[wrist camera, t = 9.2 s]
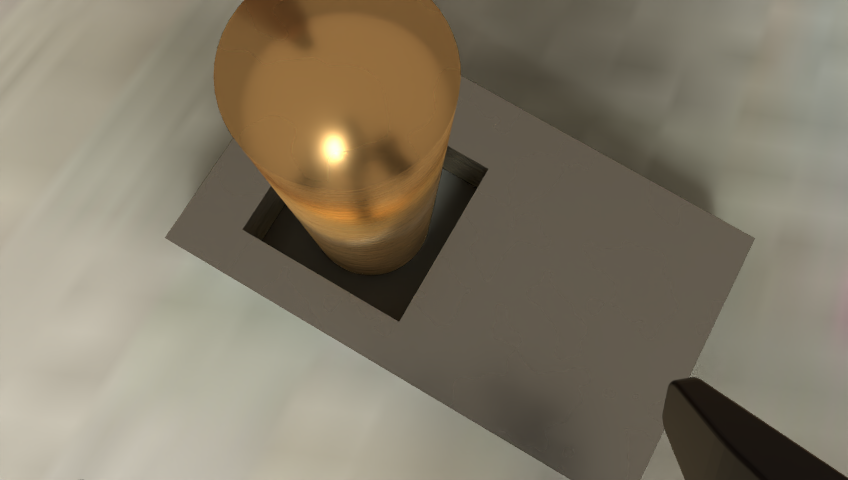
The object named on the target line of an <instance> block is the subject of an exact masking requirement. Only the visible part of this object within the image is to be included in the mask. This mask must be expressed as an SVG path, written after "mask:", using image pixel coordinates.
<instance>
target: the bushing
mask: <svg viewBox="0 0 848 480" xmlns="http://www.w3.org/2000/svg"><path fill="white" fill-rule="evenodd" d="M460 82H461V65H460V58H459V52H458V48H457V45H456V41H455V38H454V35H453V33H452V31H451V29H450V27H449V24H448V22H447V21H446V19H445V18H444V16H443V14H442V13H441V11H440V10H439V9H438V7H437V6H436V5H435V4H434V3H433V1H432V0H244V1H243V2H242V4H241V5H240V6H239V7H238V8H237V10H236V11H235V12H234V14H233V15H232V17H231V18H230V20H229V22H228V24H227V25H226V27H225V29H224V31H223V33H222V36H221V39H220V42H219V45H218V48H217V53H216V58H215V63H214V87H215V95H216V99H217V103H218V108H219V110H220V113H221V115H222V118H223V121H224V123H225V124H226V126H227V128H228V130H229V132H230V133H231V135H232V137H233V138H234V139H235V140H236V142H237V143H238V144H239V146H240V147H241V148H242V150H243V151H244V152H245V153H246V155H247V156H248V157H249V158H250V160H251V161H252V162H253V163H254V165H255V166H256V167H257V168H258V170H259V171H260V172H261V174H262V175H263V176H264V177H265V179H266V180H267V181H268V182H269V184H270V185H271V186H272V187H273V189H274V190H275V191H276V192H277V194H278V195H279V196H280V197H281V199H282V200H283V201H284V202H285V204H286V205H287V206H288V207H289V209H290V210H291V211H292V212H293V214H294V215H295V216H296V218H297V219H298V220H299V221H300V223H301V224H302V225H303V226H304V228H305V229H306V230H307V231H308V233H309V234H310V235H311V236H312V238H313V239H314V240H315V241H316V243H317V244H318V245H319V246H320V248H321V249H322V250H323V251H324V253H325V254H326V255H327V256H328V257H329V258H330V259H331V260H332V261H333V262H334V263H336V264H337V265H338V266H340V267H342V268H344V269H346V270H348V271H350V272H353V273H357V274H363V275H379V274H384V273H388V272H391V271H394V270H396V269H398V268H400V267H402V266H403V265H405V264H406V263H407V262H409V261H410V260H411V259H412V258H413V257H414V256H415V255H416V254H417V253H418V251H419V250H420V249H421V247H422V245H423V243H424V241H425V239H426V236H427V233H428V229H429V225H430V221H431V216H432V212H433V207H434V203H435V199H436V194H437V190H438V185H439V181H440V176H441V172H442V168H443V163H444V159H445V154H446V150H447V145H448V141H449V136H450V132H451V128H452V123H453V119H454V114H455V110H456V105H457V101H458V97H459V90H460Z"/></svg>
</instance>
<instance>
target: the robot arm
mask: <svg viewBox="0 0 848 480" xmlns="http://www.w3.org/2000/svg"><path fill="white" fill-rule="evenodd" d="M662 420H663V425H664V429H665V432H666V434H667V436H668V439H669V441H670V444H671V446H672V449H673V451H674V454H675V456H676V459H677V461H678V464H679V466H680V469H681V471H682V474H683V476H684V479H685V480H848V478H847V477H846V476H844V475H843V474H841V473H840V472H838V471H837V470H835V469H834V468H832V467H831V466H829V465H828V464H826V463H825V462H823V461H822V460H820V459H819V458H817V457H816V456H814V455H813V454H812V453H810V452H809V451H807V450H806V449H804V448H803V447H801V446H800V445H798V444H797V443H795V442H794V441H792V440H791V439H789V438H788V437H786V436H785V435H783V434H782V433H780V432H779V431H777V430H776V429H774V428H773V427H771V426H770V425H768V424H767V423H765V422H764V421H762V420H761V419H759V418H758V417H756V416H755V415H753V414H752V413H750V412H749V411H747V410H746V409H744V408H743V407H741V406H740V405H738V404H737V403H735V402H734V401H732V400H731V399H729V398H728V397H726V396H725V395H723V394H722V393H720V392H719V391H717V390H716V389H714V388H713V387H711V386H710V385H708V384H707V383H705V382H704V381H702V380H701V379H698V378H695V377H690V378H684V379H678V380H673V381H671V382H670V384H669V385H668V389H667V394H666V399H665V404H664V409H663V414H662Z"/></svg>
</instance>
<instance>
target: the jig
mask: <svg viewBox="0 0 848 480" xmlns="http://www.w3.org/2000/svg"><path fill="white" fill-rule="evenodd" d="M443 168H444V169H445V170H447V171H449V172H451V173H452V174H454V175H456V176H458V177H459V178H461V179H463V180H465V181H466V182H468V183H470V184H472V185H474V186H475V187H477V189H476V191H475V193H474V195H473V196H472V198H471V200H470V201H469V203H468V205H467V207H466V208H465V210H464V212H463V213H462V215H461V217H460V219H459V220H458V222H457V224H456V225H455V227H454V229H453V231H452V232H451V234H450V236H449V237H448V239H447V241H446V243H445V244H444V246H443V248H442V249H441V251H440V253H439V254H438V256H437V258H436V260H435V261H434V263H433V265H432V266H431V268H430V270H429V272H428V273H427V275H426V277H425V278H424V280H423V282H422V284H421V285H420V287H419V289H418V290H417V292H416V294H415V296H414V297H413V299H412V301H411V302H410V304H409V306H408V308H407V309H406V311H405V313H404V314H403V316H402V318H401V319H400V321H399V322H398V321H397V320H395V319H393V318H392V317H390V316H388V315H386V314H385V313H383V312H381V311H380V310H378V309H376V308H375V307H373V306H371V305H369V304H368V303H366V302H364V301H363V300H361V299H359V298H358V297H356V296H354V295H352V294H351V293H349V292H347V291H346V290H344V289H342V288H341V287H339V286H337V285H335V284H334V283H332V282H330V281H329V280H327V279H325V278H324V277H322V276H320V275H319V274H317V273H315V272H313V271H312V270H310V269H308V268H307V267H305V266H303V265H302V264H300V263H298V262H296V261H295V260H293V259H291V258H290V257H288V256H286V255H285V254H283V253H281V252H279V251H278V250H276V249H274V248H273V247H271V246H269V245H268V244H266V243H264V242H262V239H263V238H264V236H265V235H266V233H267V232H268V230H269V228H270V227H271V225H272V224H273V222H274V221H275V219H276V218H277V216H278V215H279V213H280V212H281V210H282V208H283V207H284V205H285V202H284V201H283V200H282V199H281V197H280V196H279V195H278V194H277V192H276V191H275V190H274V189H273V187H272V186H271V185H270V184H269V182H268V181H267V180H266V179H265V177H264V176H263V175H262V174H261V172H260V171H259V170H258V168H257V167H256V166H255V165H254V163H253V162H252V161H251V160H250V158H249V157H248V156H247V155H246V153H245V152H244V151H243V150H242V148H241V147H240V146H239V144H238V143H237V142H236V140H235V139H234V138H233V139H232V141H231V142H230V144H229V145H228V147H227V148H226V150H225V151H224V152H223V154H222V155H221V157H220V158H219V160H218V161H217V163H216V164H215V166H214V167H213V168H212V170H211V171H210V173H209V174H208V176H207V177H206V179H205V180H204V182H203V183H202V185H201V186H200V187H199V189H198V190H197V192H196V193H195V195H194V196H193V198H192V199H191V201H190V202H189V204H188V205H187V206H186V208H185V209H184V211H183V212H182V214H181V215H180V217H179V218H178V220H177V221H176V222H175V224H174V225H173V227H172V228H171V230H170V231H169V233H168V234H167V236H166V237H165V238H166V239H168V240H170V241H171V242H173V243H175V244H176V245H178V246H180V247H181V248H183V249H185V250H186V251H188V252H190V253H191V254H193V255H195V256H196V257H198V258H200V259H202V260H203V261H205V262H207V263H208V264H210V265H212V266H213V267H215V268H217V269H218V270H220V271H222V272H223V273H225V274H227V275H228V276H230V277H232V278H233V279H235V280H237V281H238V282H240V283H242V284H243V285H245V286H247V287H249V288H250V289H252V290H254V291H255V292H257V293H259V294H260V295H262V296H264V297H265V298H267V299H269V300H270V301H272V302H274V303H275V304H277V305H279V306H280V307H282V308H284V309H285V310H287V311H289V312H290V313H292V314H294V315H296V316H297V317H299V318H301V319H302V320H304V321H306V322H307V323H309V324H311V325H312V326H314V327H316V328H317V329H319V330H321V331H322V332H324V333H326V334H327V335H329V336H331V337H332V338H334V339H336V340H337V341H339V342H341V343H343V344H344V345H346V346H348V347H349V348H351V349H353V350H354V351H356V352H358V353H359V354H361V355H363V356H364V357H366V358H368V359H369V360H371V361H373V362H374V363H376V364H378V365H379V366H381V367H383V368H384V369H386V370H388V371H390V372H391V373H393V374H395V375H396V376H398V377H400V378H401V379H403V380H405V381H406V382H408V383H410V384H411V385H413V386H415V387H416V388H418V389H420V390H421V391H423V392H425V393H426V394H428V395H430V396H431V397H433V398H435V399H437V400H438V401H440V402H442V403H443V404H445V405H447V406H448V407H450V408H452V409H453V410H455V411H457V412H458V413H460V414H462V415H463V416H465V417H467V418H468V419H470V420H472V421H473V422H475V423H477V424H478V425H480V426H482V427H484V428H485V429H487V430H489V431H490V432H492V433H494V434H495V435H497V436H499V437H500V438H502V439H504V440H505V441H507V442H509V443H510V444H512V445H514V446H515V447H517V448H519V449H520V450H522V451H524V452H525V453H527V454H529V455H531V456H532V457H534V458H536V459H537V460H539V461H541V462H542V463H544V464H546V465H547V466H549V467H551V468H552V469H554V470H556V471H557V472H559V473H561V474H562V475H564V476H566V477H567V478H569V479H571V480H640V479H641V477H642V475H643V473H644V471H645V469H646V467H647V464H648V462H649V460H650V458H651V456H652V454H653V452H654V450H655V448H656V446H657V443H658V441H659V439H660V437H661V435H662V433H663V431H664V425H663V420H662V414H663V409H664V404H665V399H666V394H667V389H668V385H669V384H670V382H671V381H673V380H678V379H684V378H689V376H690V374H691V372H692V370H693V368H694V366H695V363H696V361H697V359H698V357H699V355H700V353H701V351H702V349H703V347H704V345H705V342H706V340H707V338H708V336H709V334H710V332H711V330H712V328H713V326H714V324H715V321H716V319H717V317H718V315H719V313H720V311H721V309H722V307H723V305H724V302H725V300H726V298H727V296H728V294H729V292H730V290H731V288H732V286H733V284H734V281H735V279H736V277H737V275H738V273H739V271H740V269H741V267H742V265H743V262H744V260H745V258H746V256H747V254H748V252H749V250H750V248H751V246H752V244H753V241H754V239H755V238H753V237H751V236H750V235H748V234H746V233H744V232H742V231H741V230H739V229H737V228H735V227H733V226H732V225H730V224H728V223H726V222H724V221H723V220H721V219H719V218H717V217H715V216H714V215H712V214H710V213H708V212H706V211H705V210H703V209H701V208H699V207H697V206H696V205H694V204H692V203H690V202H688V201H687V200H685V199H683V198H681V197H679V196H678V195H676V194H674V193H672V192H670V191H669V190H667V189H665V188H663V187H661V186H660V185H658V184H656V183H654V182H652V181H651V180H649V179H647V178H645V177H643V176H641V175H640V174H638V173H636V172H634V171H632V170H631V169H629V168H627V167H625V166H623V165H622V164H620V163H618V162H616V161H614V160H613V159H611V158H609V157H607V156H605V155H604V154H602V153H600V152H598V151H596V150H595V149H593V148H591V147H589V146H587V145H586V144H584V143H582V142H580V141H578V140H577V139H575V138H573V137H571V136H569V135H568V134H566V133H564V132H562V131H560V130H559V129H557V128H555V127H553V126H551V125H550V124H548V123H546V122H544V121H542V120H541V119H539V118H537V117H535V116H533V115H532V114H530V113H528V112H526V111H524V110H523V109H521V108H519V107H517V106H515V105H514V104H512V103H510V102H508V101H506V100H505V99H503V98H501V97H499V96H497V95H496V94H494V93H492V92H490V91H488V90H487V89H485V88H483V87H481V86H479V85H478V84H476V83H474V82H472V81H470V80H469V79H467V78H465V77H463V76H461V82H460V90H459V97H458V101H457V105H456V110H455V114H454V119H453V123H452V128H451V132H450V136H449V141H448V145H447V150H446V154H445V159H444V163H443Z"/></svg>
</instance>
